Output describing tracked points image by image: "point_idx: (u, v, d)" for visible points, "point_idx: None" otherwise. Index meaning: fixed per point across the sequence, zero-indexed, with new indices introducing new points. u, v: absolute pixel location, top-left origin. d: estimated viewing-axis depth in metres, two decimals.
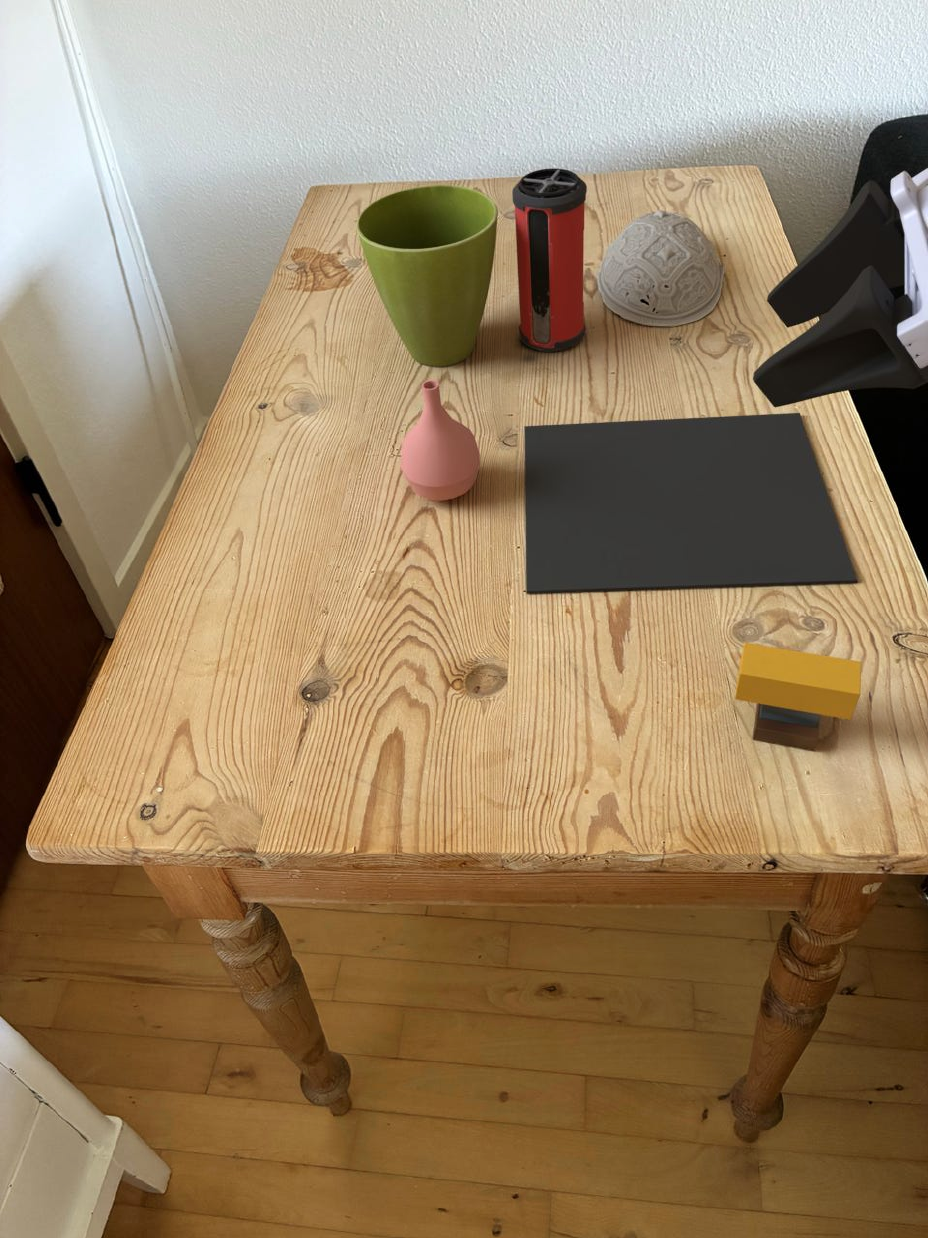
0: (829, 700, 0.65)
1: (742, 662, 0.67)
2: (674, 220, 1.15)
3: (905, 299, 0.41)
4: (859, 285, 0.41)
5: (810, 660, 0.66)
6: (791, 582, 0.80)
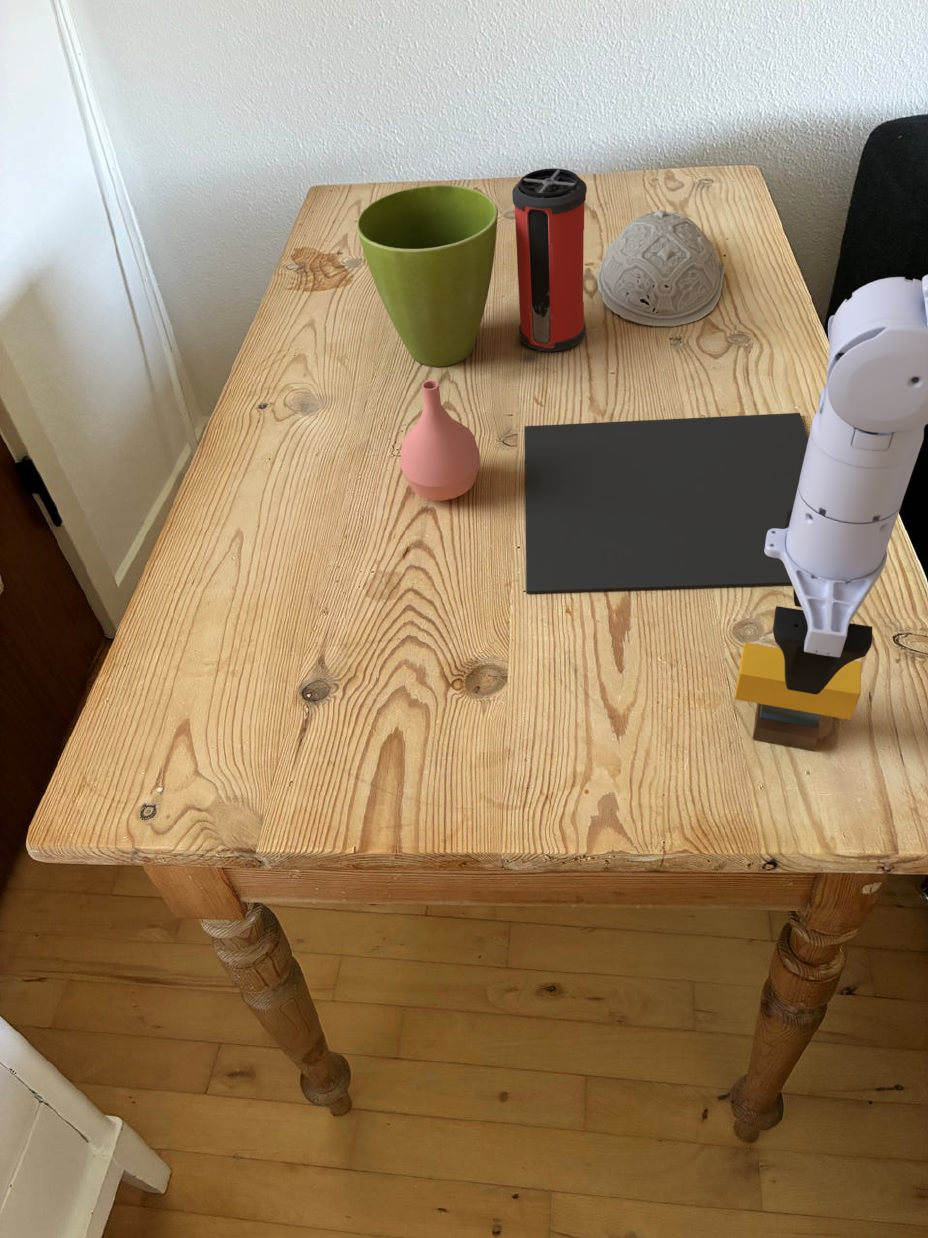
0: (829, 700, 0.65)
1: (742, 662, 0.67)
2: (674, 220, 1.15)
3: None
4: None
5: None
6: (791, 582, 0.80)
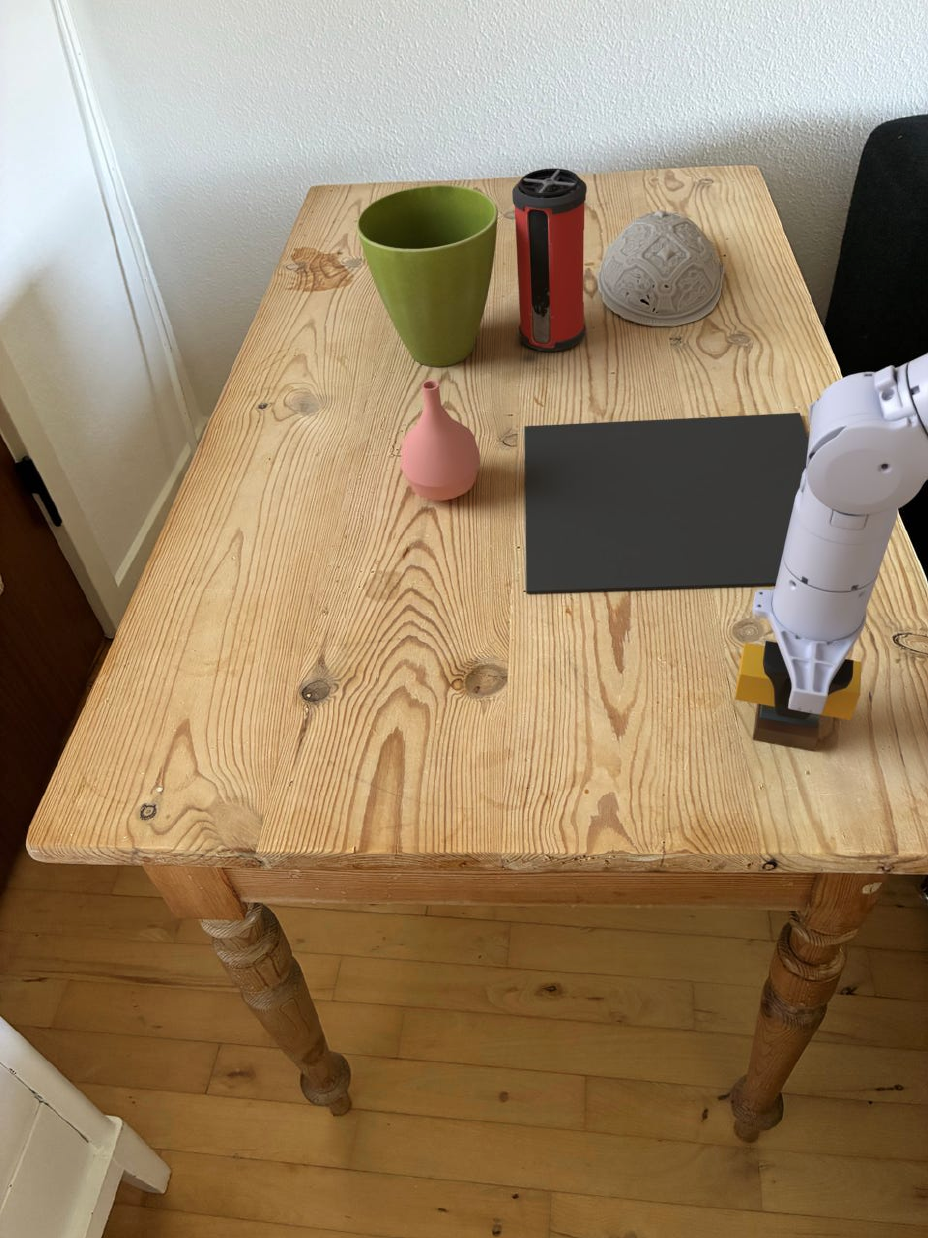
0: (828, 700, 0.65)
1: (742, 662, 0.67)
2: (674, 220, 1.15)
3: None
4: None
5: None
6: None
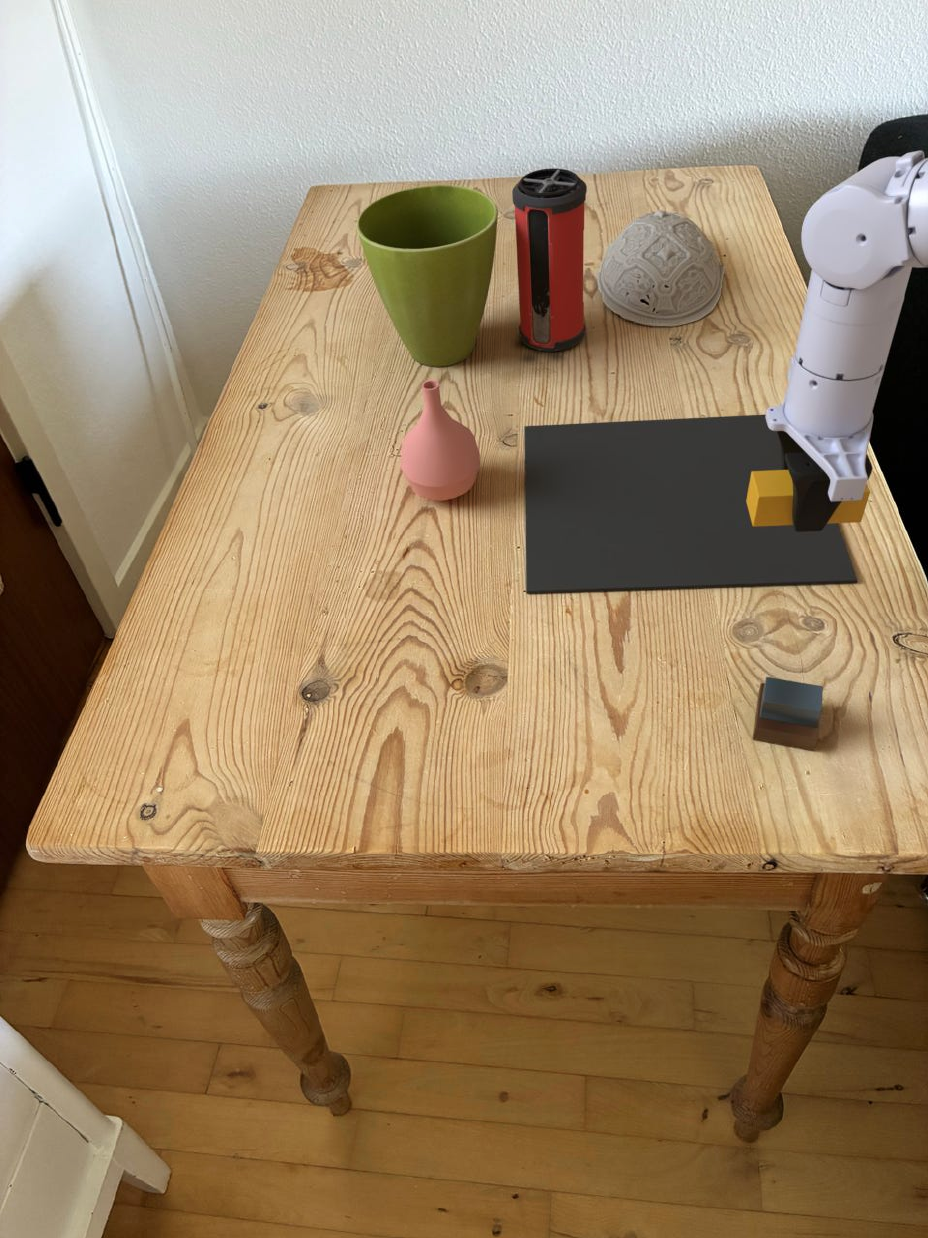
0: (841, 506, 0.69)
1: (756, 487, 0.70)
2: (674, 220, 1.15)
3: None
4: (788, 469, 0.66)
5: None
6: (791, 582, 0.80)
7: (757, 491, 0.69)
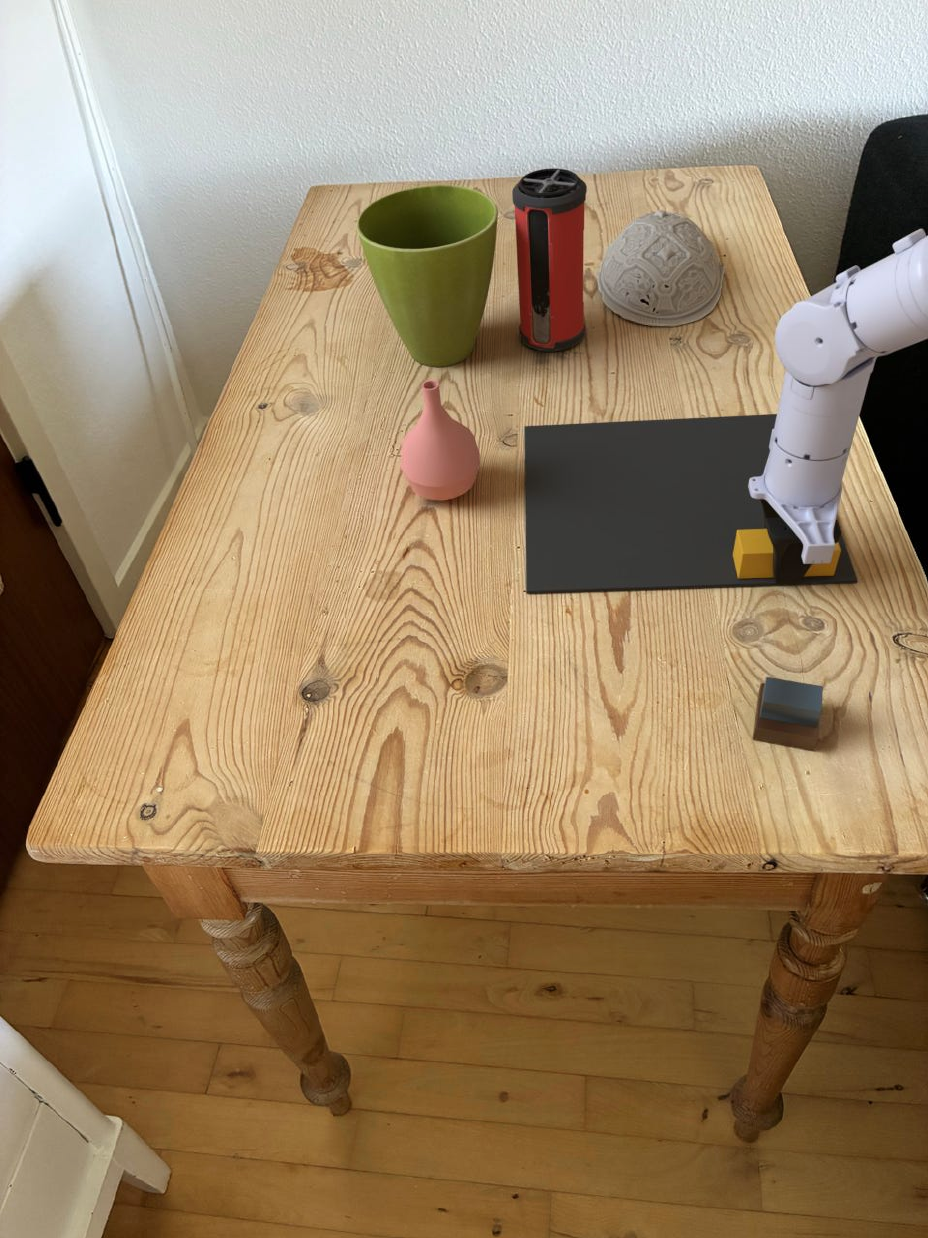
0: None
1: (741, 545, 0.79)
2: (674, 220, 1.15)
3: None
4: (768, 532, 0.75)
5: None
6: None
7: (741, 548, 0.79)
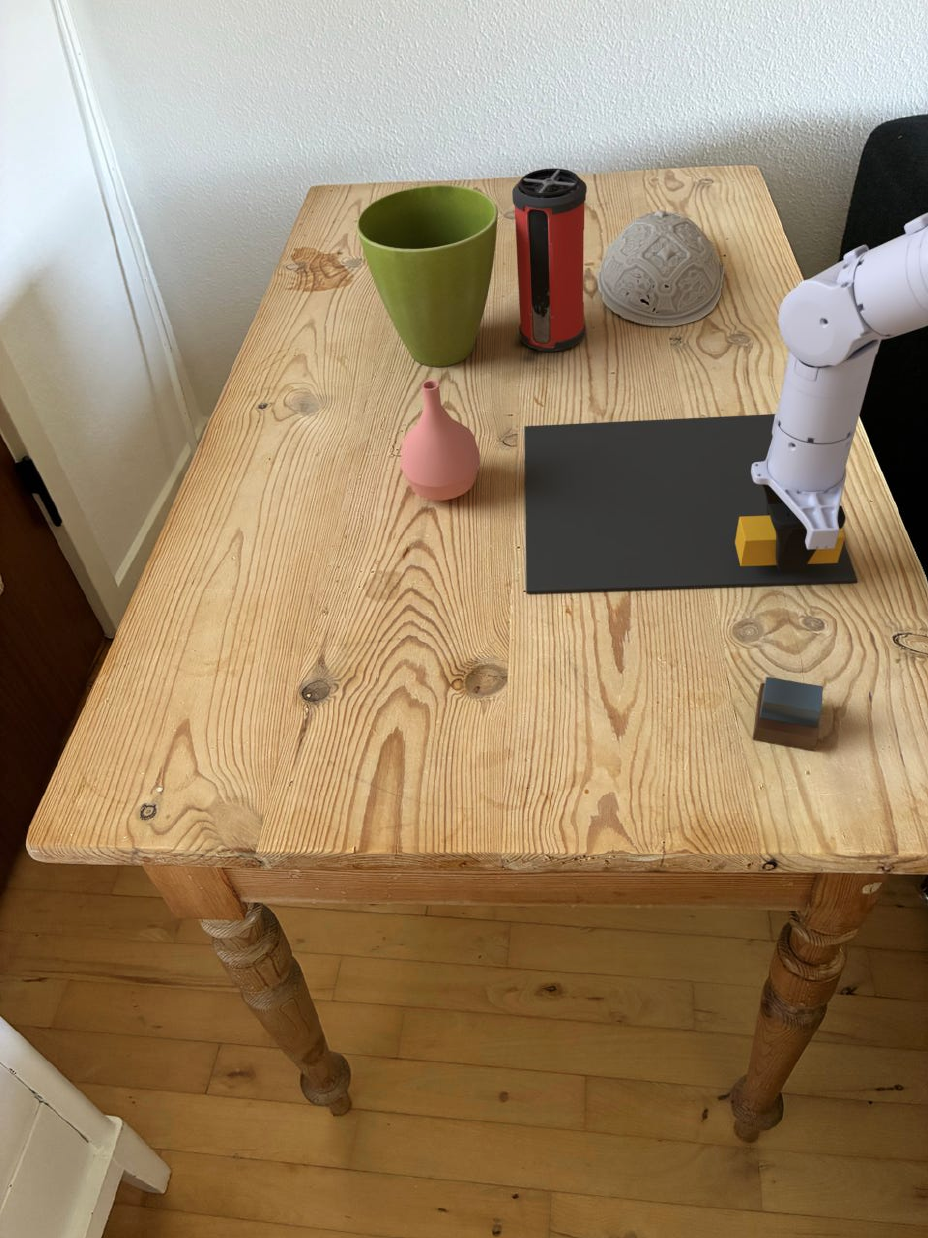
0: None
1: (743, 531, 0.78)
2: (674, 220, 1.15)
3: None
4: (771, 518, 0.74)
5: None
6: (791, 582, 0.80)
7: (744, 535, 0.78)
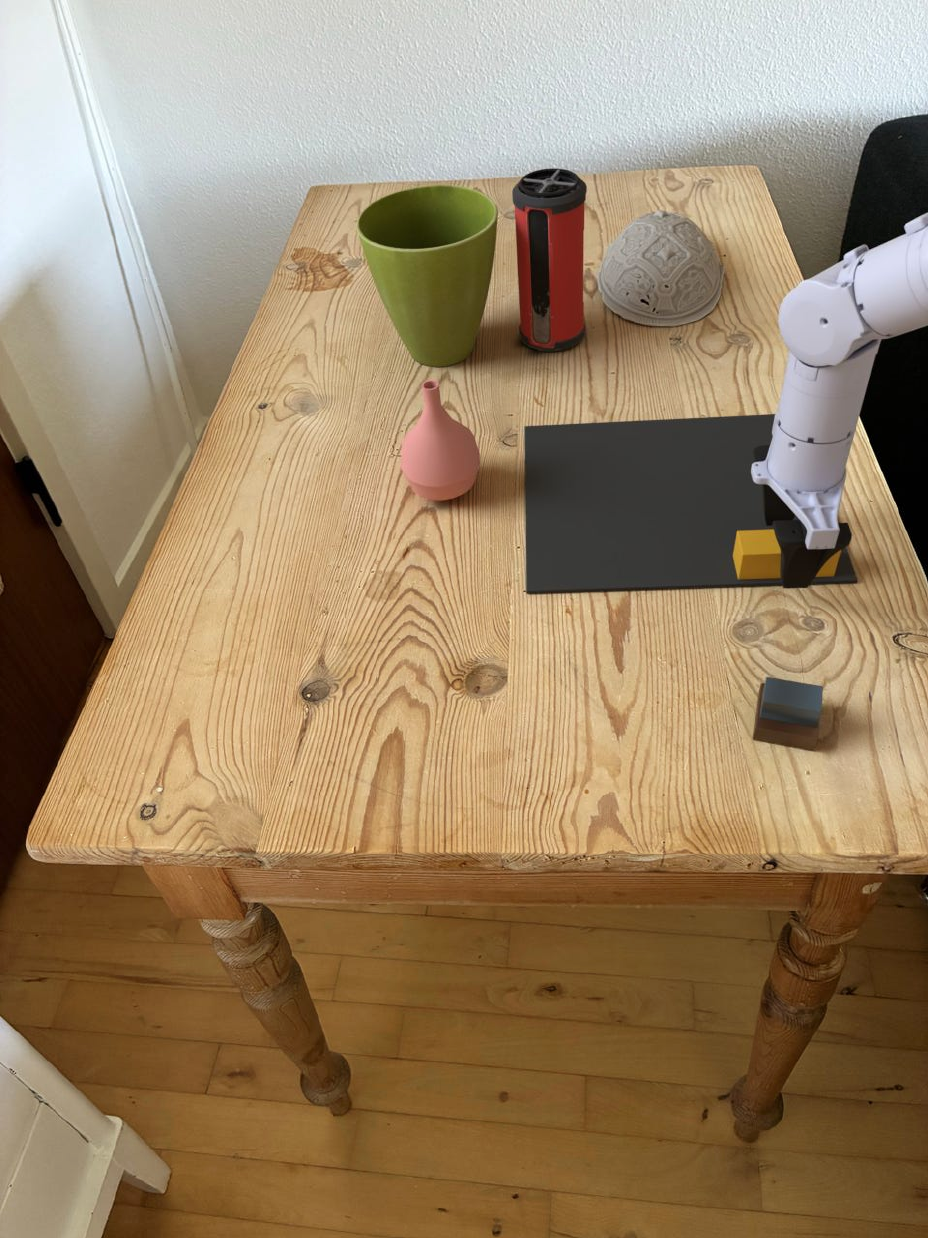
0: None
1: (741, 546, 0.79)
2: (674, 220, 1.15)
3: None
4: (776, 535, 0.72)
5: None
6: None
7: (741, 549, 0.79)
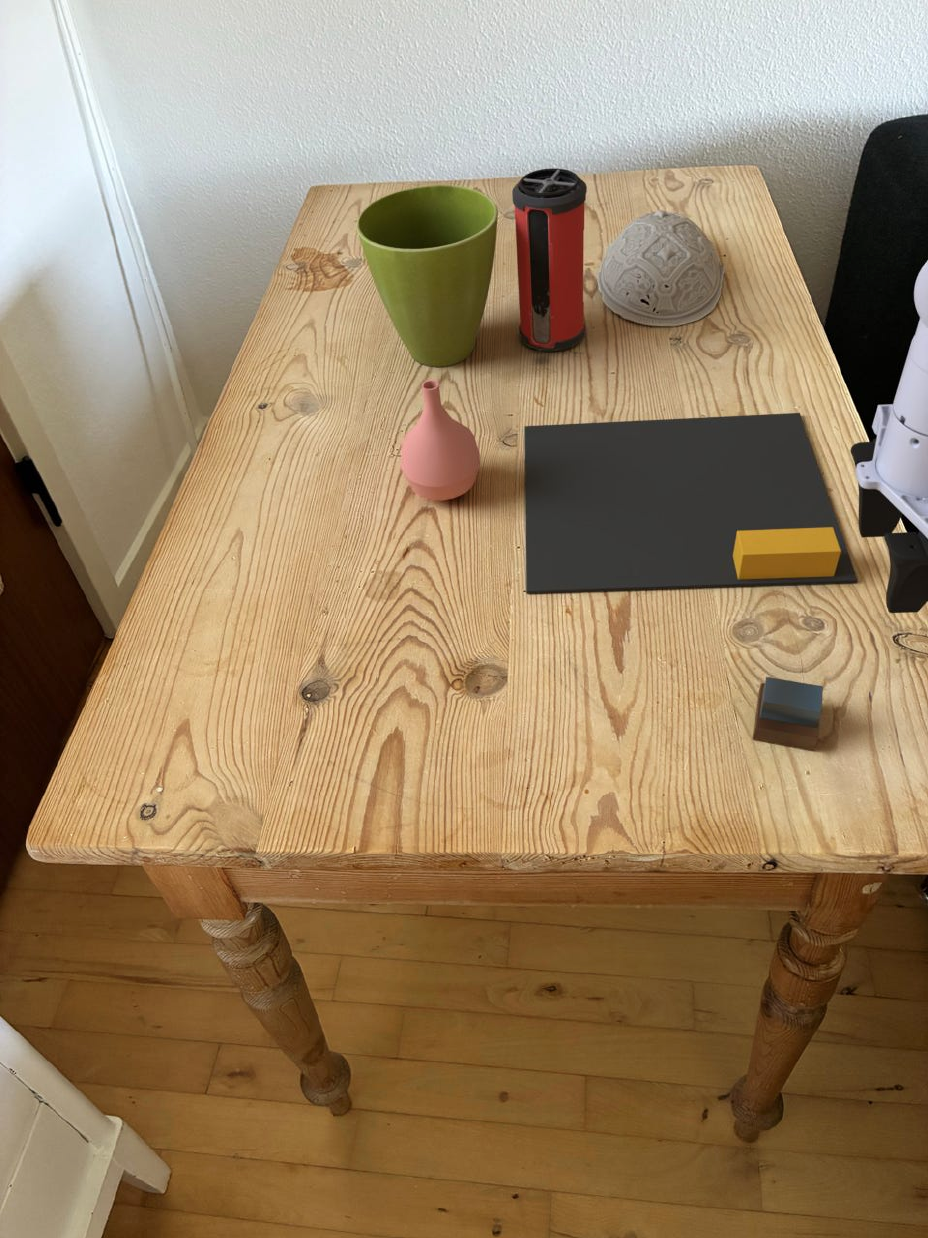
0: (816, 562, 0.79)
1: (741, 546, 0.79)
2: (674, 220, 1.15)
3: (922, 533, 0.59)
4: (889, 551, 0.60)
5: (793, 533, 0.79)
6: (791, 582, 0.80)
7: (741, 549, 0.79)
